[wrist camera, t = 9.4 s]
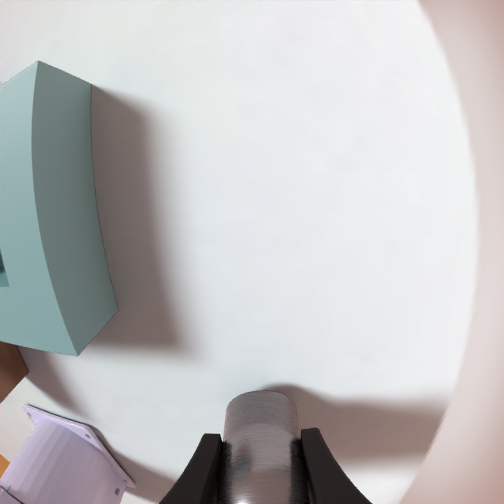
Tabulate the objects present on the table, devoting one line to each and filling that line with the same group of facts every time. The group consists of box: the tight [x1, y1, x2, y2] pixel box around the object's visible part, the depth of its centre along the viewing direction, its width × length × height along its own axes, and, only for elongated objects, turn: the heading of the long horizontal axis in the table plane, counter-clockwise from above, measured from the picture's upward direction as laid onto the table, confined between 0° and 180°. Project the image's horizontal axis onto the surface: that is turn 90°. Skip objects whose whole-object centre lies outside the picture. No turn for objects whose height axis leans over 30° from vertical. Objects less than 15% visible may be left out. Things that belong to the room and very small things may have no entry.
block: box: [0, 61, 119, 356], centre depth 8 cm, size 10×10×4 cm
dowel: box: [216, 390, 310, 504], centre depth 8 cm, size 3×3×7 cm
